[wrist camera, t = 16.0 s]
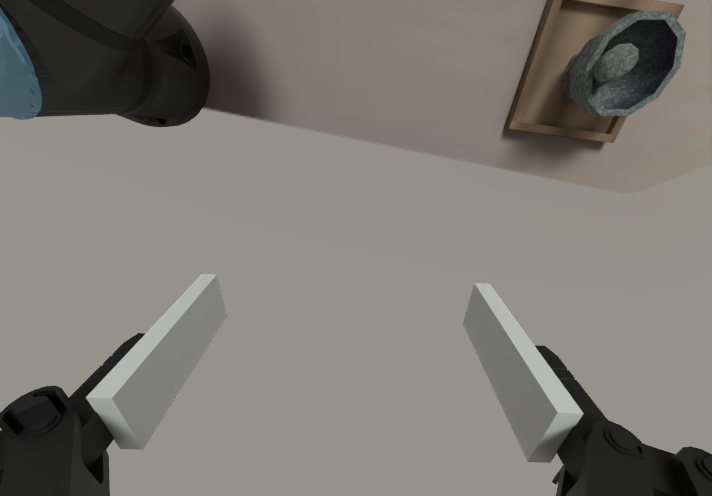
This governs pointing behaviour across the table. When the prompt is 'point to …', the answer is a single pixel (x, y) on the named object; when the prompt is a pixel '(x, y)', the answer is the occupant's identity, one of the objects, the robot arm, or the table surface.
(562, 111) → the walnut tray
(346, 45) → the table surface
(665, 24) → the mortar and pestle
